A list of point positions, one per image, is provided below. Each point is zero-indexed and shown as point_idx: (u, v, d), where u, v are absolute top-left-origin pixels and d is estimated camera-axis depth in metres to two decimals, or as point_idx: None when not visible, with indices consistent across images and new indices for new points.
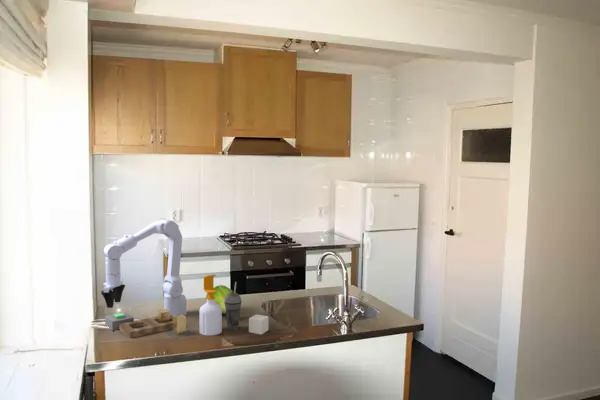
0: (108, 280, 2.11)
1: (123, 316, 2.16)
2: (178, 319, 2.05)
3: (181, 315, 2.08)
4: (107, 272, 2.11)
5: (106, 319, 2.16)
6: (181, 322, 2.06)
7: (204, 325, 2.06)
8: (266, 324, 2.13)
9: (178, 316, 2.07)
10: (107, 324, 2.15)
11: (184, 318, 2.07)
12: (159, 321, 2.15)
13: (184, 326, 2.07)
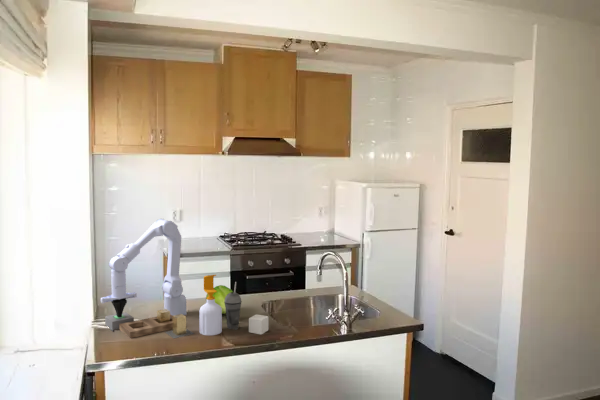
0: None
1: None
2: (178, 319, 2.05)
3: (181, 315, 2.08)
4: (113, 284, 2.13)
5: (106, 319, 2.16)
6: (181, 322, 2.06)
7: (204, 325, 2.06)
8: (266, 324, 2.13)
9: (178, 316, 2.07)
10: (107, 324, 2.15)
11: (184, 318, 2.07)
12: (159, 321, 2.15)
13: (184, 326, 2.07)
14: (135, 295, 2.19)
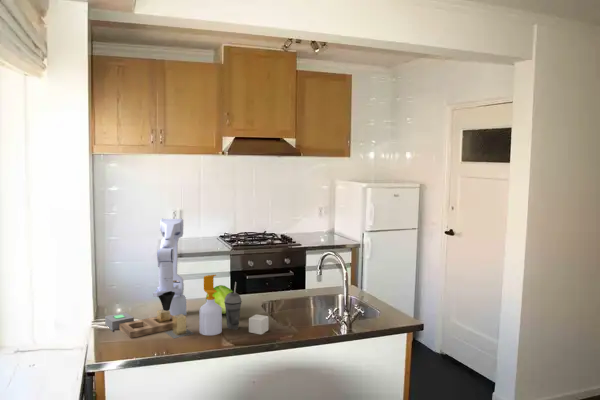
0: (160, 285, 2.06)
1: None
2: (178, 319, 2.05)
3: (181, 315, 2.08)
4: (167, 277, 2.05)
5: (106, 319, 2.16)
6: (181, 322, 2.06)
7: (204, 325, 2.06)
8: (266, 324, 2.13)
9: (178, 316, 2.07)
10: (107, 324, 2.15)
11: (184, 318, 2.07)
12: (159, 321, 2.15)
13: (184, 326, 2.07)
14: (178, 286, 2.14)
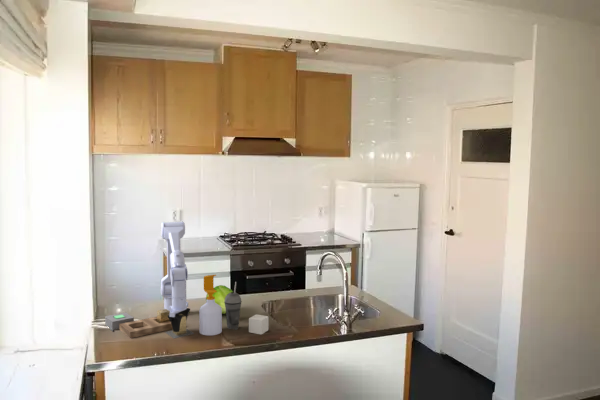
0: (174, 304, 2.05)
1: None
2: None
3: None
4: (182, 295, 2.05)
5: (106, 319, 2.16)
6: (181, 322, 2.06)
7: (204, 325, 2.06)
8: (266, 324, 2.13)
9: None
10: (107, 324, 2.15)
11: (184, 318, 2.07)
12: (159, 321, 2.15)
13: (184, 326, 2.07)
14: (187, 304, 2.14)
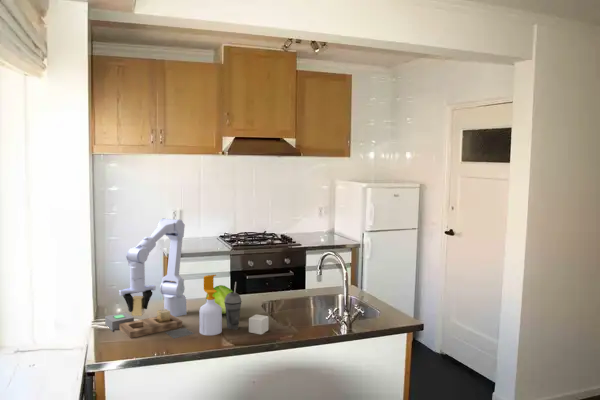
0: (130, 284, 2.07)
1: None
2: (133, 300, 2.06)
3: (140, 297, 2.09)
4: (135, 277, 2.05)
5: (106, 319, 2.16)
6: (136, 303, 2.07)
7: (204, 325, 2.06)
8: (266, 324, 2.13)
9: (136, 297, 2.08)
10: (107, 324, 2.15)
11: (139, 300, 2.06)
12: (159, 321, 2.15)
13: (139, 308, 2.07)
14: (154, 288, 2.12)
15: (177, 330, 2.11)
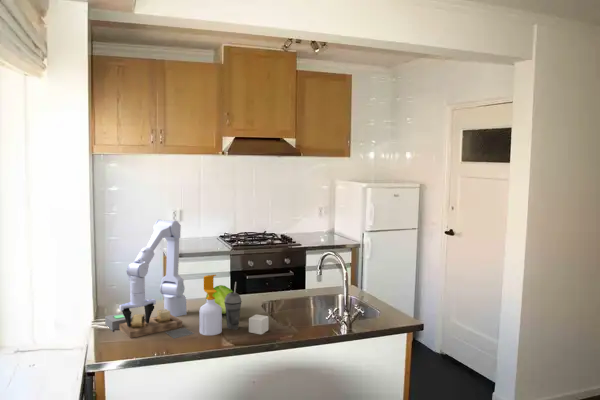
0: (130, 299, 2.07)
1: None
2: (133, 319, 2.07)
3: (140, 315, 2.09)
4: (135, 291, 2.05)
5: (106, 319, 2.16)
6: (136, 322, 2.07)
7: (204, 325, 2.06)
8: (266, 324, 2.13)
9: (136, 316, 2.09)
10: (107, 324, 2.15)
11: (140, 319, 2.07)
12: (159, 321, 2.15)
13: (140, 327, 2.08)
14: (154, 302, 2.12)
15: (177, 330, 2.11)
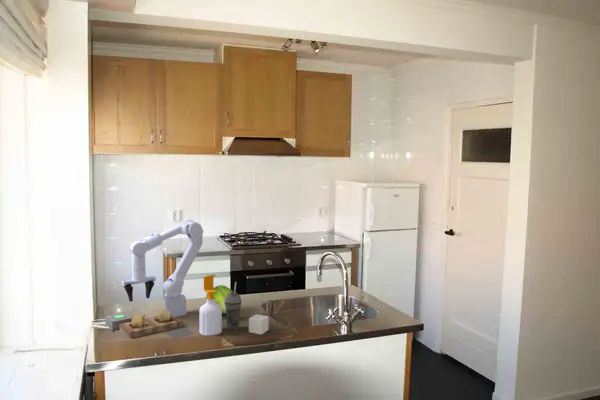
0: (132, 275, 2.22)
1: None
2: (133, 319, 2.07)
3: (140, 315, 2.09)
4: (132, 268, 2.20)
5: (106, 319, 2.16)
6: (136, 322, 2.07)
7: (204, 325, 2.06)
8: (266, 324, 2.13)
9: (136, 316, 2.09)
10: (107, 324, 2.15)
11: (140, 319, 2.07)
12: (159, 321, 2.15)
13: (140, 327, 2.08)
14: (154, 279, 2.27)
15: (177, 330, 2.11)
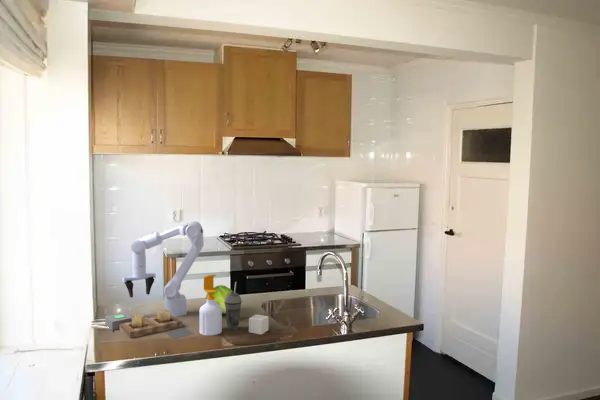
0: None
1: None
2: (133, 319, 2.07)
3: (140, 315, 2.09)
4: (132, 264, 2.27)
5: (106, 319, 2.16)
6: (136, 322, 2.07)
7: (204, 325, 2.06)
8: (266, 324, 2.13)
9: (136, 316, 2.09)
10: (107, 324, 2.15)
11: (140, 319, 2.07)
12: (159, 321, 2.15)
13: (140, 327, 2.08)
14: (154, 275, 2.33)
15: (177, 330, 2.11)
